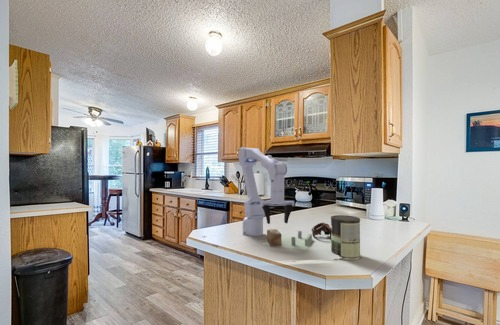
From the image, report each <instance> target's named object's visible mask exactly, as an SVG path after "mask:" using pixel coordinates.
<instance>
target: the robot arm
mask: <svg viewBox="0 0 500 325" xmlns="http://www.w3.org/2000/svg"><path fill="white" fill-rule="evenodd" d="M237 154H238V155H237V156H238V162H239V165H240V166H241V169H242V174H243V181H244V185H245V189H246V193H247V194H246V195H247V199H246V200H245V201H244V203H243V206H244V211H243V212H244V215H245V217H244V218H243V220H242V235H246V236H251V237H259V236H263V235H264V218H266V224H268V225H270V224H271V207H278V206H279V207H283V210H284V211H283V213H284V215H283V216H284V218H283V220H284V221H283V222H284V223H285V224H288V222H289V218H290V216H291V213H292V211H293V209H294V207H295V200H285V176H286V175H287V172H288V167H287V164H286V163H285V162H279V161H278V159H275V158H273V156H272V155H270V154H267V155H265V154H264V153H262V152H261V149H260V148H258V147H244V146H241V147H240V148H239V151H238V153H237ZM257 162H260V164H261V166H262V167H263V169H265V170H267V173H268V177H269V181H270V200H264V199H262V198H261V197H260V196H259V192H258V188H257V184H256V179H255V174H254V169H253V167H255V166H256V164H257Z"/></svg>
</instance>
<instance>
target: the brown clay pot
mask: <svg viewBox="0 0 500 325" xmlns="http://www.w3.org/2000/svg"><path fill="white" fill-rule="evenodd" d="M311 232H312V233H311V234H312V238H315V237H316V236H317V235H320V236H322V232H324V235H325V236H329V237H330V238H331V225H330V224H328V223H325V222H320V223H319V222H318V223H317V224H316V225H314V226H313V227H312V228H311Z"/></svg>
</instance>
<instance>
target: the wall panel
mask: <svg viewBox="0 0 500 325" xmlns="http://www.w3.org/2000/svg"><path fill="white" fill-rule="evenodd" d="M302 235H303V232H302V230H298V231H297V236H292V235H291V236H290V235H284V234H283V235H282V234H281V246H275V247H276V248H277V247H278V248H285V249H292V250H301V251H307V249H308V248H309V246H310V245H311V244H312V242H313V241H314V238H313V235H312V233H309V234H308V235H307V236H306V237H302ZM261 245H264V246H270V245H269V243H268V241H267V240H266V241H264V242H263V243H261ZM270 247H271V246H270Z"/></svg>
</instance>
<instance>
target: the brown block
mask: <svg viewBox="0 0 500 325" xmlns="http://www.w3.org/2000/svg"><path fill="white" fill-rule="evenodd" d="M281 235H282V233H281V232H280V231H279V230H278V229H276V228H274V229H273V228H272V229H266V241H268V243H269V245H270V247H276V246H281ZM269 245H268V246H269Z"/></svg>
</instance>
